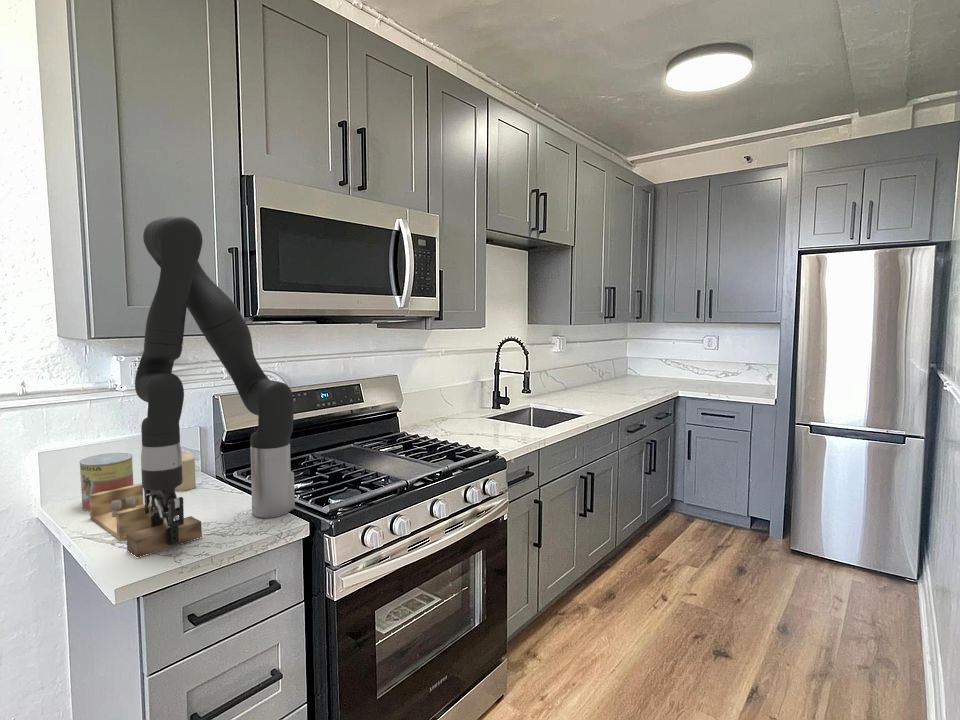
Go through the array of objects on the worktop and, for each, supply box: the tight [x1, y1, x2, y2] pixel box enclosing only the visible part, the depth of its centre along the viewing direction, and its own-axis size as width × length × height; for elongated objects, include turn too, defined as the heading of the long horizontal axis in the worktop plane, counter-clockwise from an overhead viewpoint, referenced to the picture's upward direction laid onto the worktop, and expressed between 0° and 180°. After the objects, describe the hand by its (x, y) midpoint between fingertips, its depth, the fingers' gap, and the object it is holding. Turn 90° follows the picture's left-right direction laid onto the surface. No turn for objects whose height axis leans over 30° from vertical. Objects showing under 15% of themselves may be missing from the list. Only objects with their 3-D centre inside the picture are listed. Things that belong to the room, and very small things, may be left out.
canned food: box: [78, 452, 134, 513], centre depth 140 cm, size 11×11×12 cm
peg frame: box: [89, 483, 169, 541], centre depth 129 cm, size 11×19×6 cm, turn 52°
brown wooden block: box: [126, 515, 203, 558], centre depth 117 cm, size 13×5×4 cm, turn 142°
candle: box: [175, 452, 197, 492], centre depth 153 cm, size 6×6×10 cm
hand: (164, 538), depth 117 cm, fingers open, 7 cm apart
